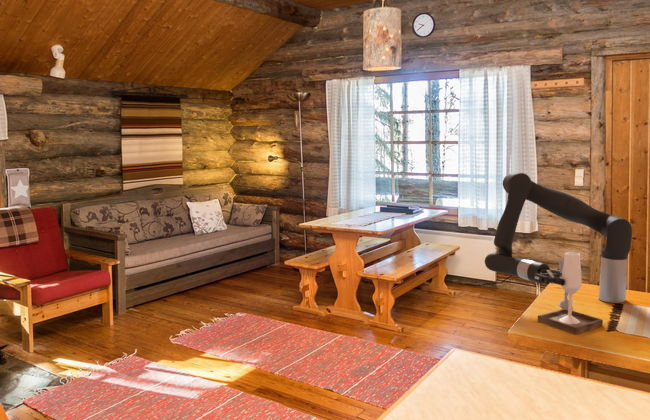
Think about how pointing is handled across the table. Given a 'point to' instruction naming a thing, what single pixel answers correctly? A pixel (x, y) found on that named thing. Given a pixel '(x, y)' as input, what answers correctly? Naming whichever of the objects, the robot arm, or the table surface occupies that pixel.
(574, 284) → the champagne flute
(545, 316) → the tray
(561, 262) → the chalice
